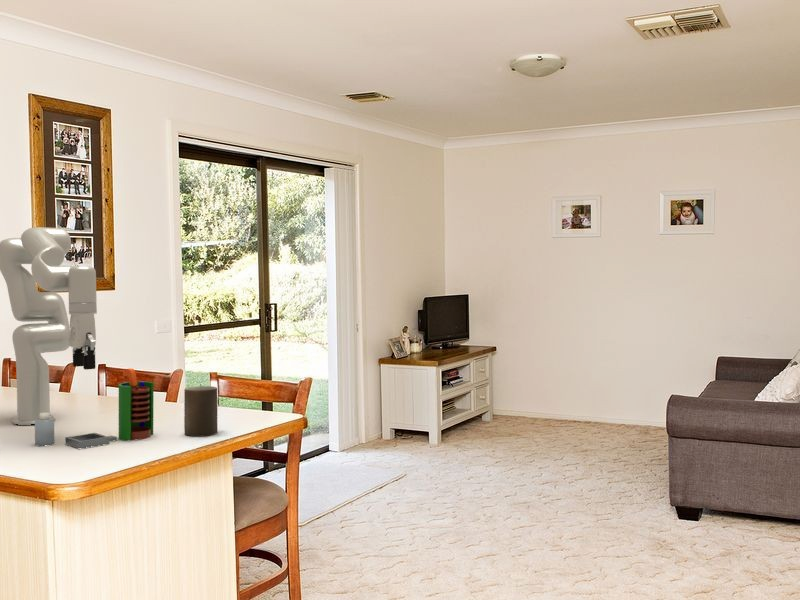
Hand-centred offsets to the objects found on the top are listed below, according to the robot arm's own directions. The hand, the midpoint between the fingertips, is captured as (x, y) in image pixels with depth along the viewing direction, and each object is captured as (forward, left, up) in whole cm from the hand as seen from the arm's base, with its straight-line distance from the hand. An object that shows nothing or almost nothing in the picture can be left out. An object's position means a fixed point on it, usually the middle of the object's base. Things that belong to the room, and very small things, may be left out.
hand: (84, 367), depth 231 cm
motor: (+10, +10, -21) cm, 25 cm away
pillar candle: (+20, +26, -21) cm, 39 cm away
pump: (0, -12, -21) cm, 24 cm away
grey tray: (+9, -2, -20) cm, 22 cm away
